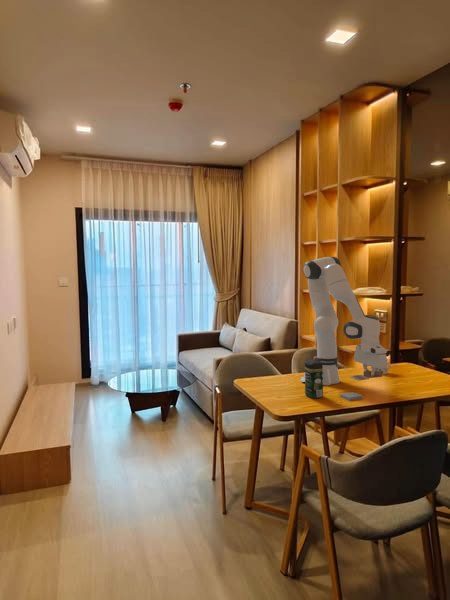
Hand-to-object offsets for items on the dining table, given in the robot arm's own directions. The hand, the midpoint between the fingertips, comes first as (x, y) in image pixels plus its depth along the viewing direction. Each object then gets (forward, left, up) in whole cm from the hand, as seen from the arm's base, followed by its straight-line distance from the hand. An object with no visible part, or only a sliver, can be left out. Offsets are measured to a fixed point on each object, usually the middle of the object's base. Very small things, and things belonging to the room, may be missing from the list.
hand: (369, 374), depth 208 cm
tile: (-6, -5, -9) cm, 12 cm away
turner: (-1, -1, -2) cm, 2 cm away
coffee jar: (-27, -8, -11) cm, 30 cm away
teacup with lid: (+11, +47, -11) cm, 49 cm away
